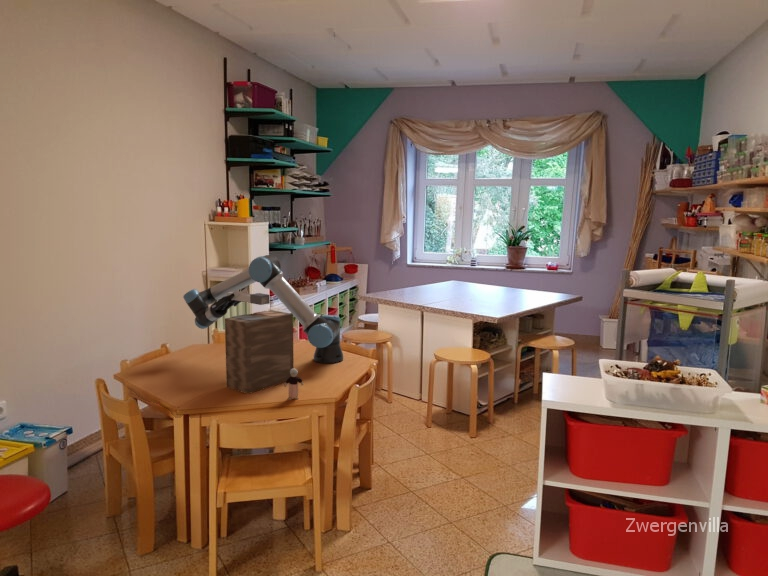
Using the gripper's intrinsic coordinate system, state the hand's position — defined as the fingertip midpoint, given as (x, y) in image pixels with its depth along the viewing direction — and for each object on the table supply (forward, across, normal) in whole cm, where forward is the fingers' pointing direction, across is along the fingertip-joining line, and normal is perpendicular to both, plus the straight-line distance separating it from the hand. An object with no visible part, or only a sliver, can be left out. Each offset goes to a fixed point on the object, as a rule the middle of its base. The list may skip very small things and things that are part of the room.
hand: (242, 291), depth 256 cm
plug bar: (+1, 0, -5) cm, 5 cm away
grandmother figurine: (+19, +11, -56) cm, 60 cm away
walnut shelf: (-3, +6, -42) cm, 43 cm away
